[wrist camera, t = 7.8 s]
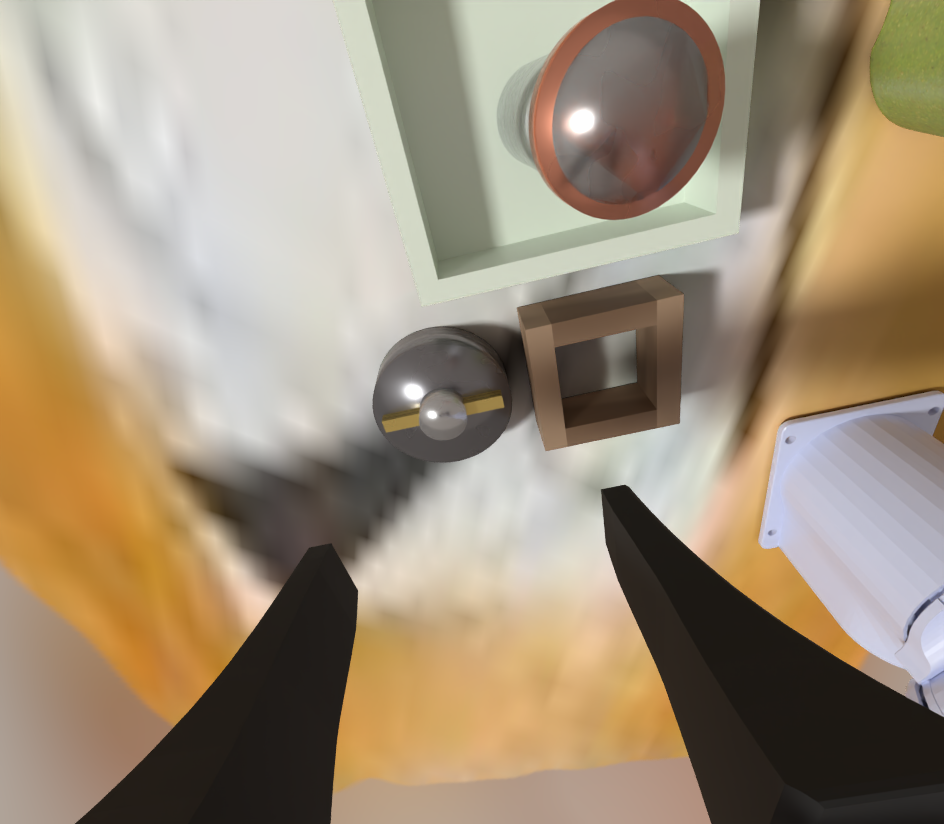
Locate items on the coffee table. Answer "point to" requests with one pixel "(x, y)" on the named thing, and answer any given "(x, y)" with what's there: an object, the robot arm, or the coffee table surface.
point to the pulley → (442, 395)
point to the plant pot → (911, 66)
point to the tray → (490, 164)
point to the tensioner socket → (594, 316)
